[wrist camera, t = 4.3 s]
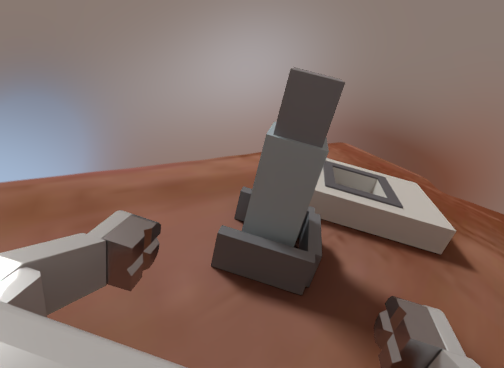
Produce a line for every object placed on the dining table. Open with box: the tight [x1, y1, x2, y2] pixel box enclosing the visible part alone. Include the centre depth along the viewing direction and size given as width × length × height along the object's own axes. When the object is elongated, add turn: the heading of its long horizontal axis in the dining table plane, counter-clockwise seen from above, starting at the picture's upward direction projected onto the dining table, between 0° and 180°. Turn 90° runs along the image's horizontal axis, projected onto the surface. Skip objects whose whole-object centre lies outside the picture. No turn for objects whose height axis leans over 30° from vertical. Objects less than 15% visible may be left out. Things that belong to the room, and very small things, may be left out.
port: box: [309, 158, 456, 254], centre depth 35 cm, size 18×12×3 cm, turn 78°
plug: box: [242, 67, 345, 247], centre depth 21 cm, size 4×4×14 cm
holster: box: [211, 187, 322, 295], centre depth 23 cm, size 7×8×3 cm
